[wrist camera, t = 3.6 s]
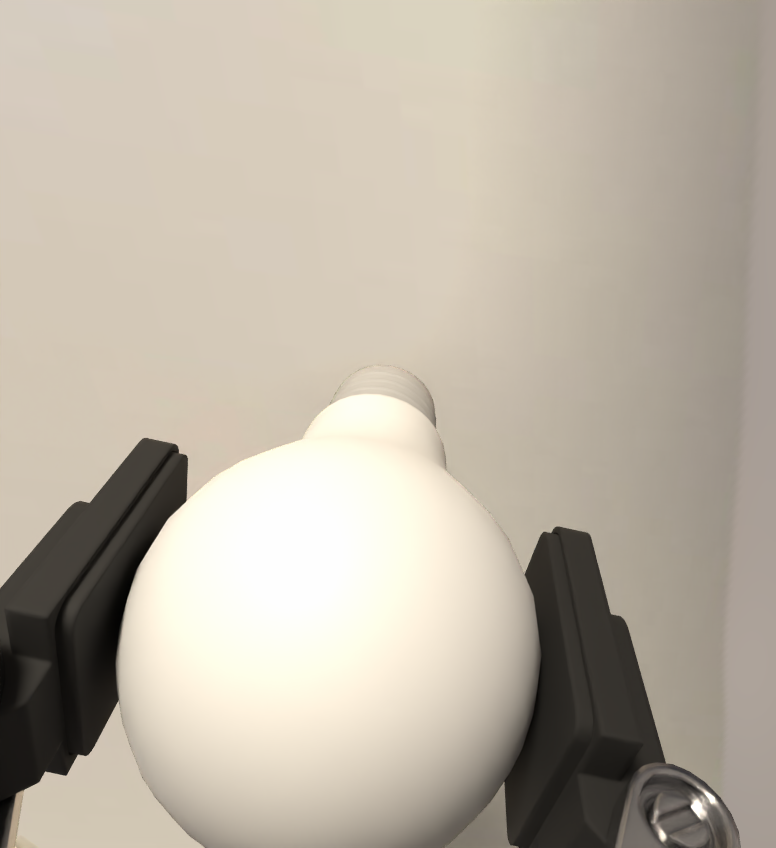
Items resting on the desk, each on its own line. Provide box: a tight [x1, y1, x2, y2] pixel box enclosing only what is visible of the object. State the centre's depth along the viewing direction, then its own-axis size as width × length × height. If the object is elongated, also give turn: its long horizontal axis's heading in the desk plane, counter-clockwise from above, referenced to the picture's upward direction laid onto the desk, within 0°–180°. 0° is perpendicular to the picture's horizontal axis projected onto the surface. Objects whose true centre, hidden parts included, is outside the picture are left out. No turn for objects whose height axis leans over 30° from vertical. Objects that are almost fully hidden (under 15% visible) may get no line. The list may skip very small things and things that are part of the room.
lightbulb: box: [116, 365, 541, 848], centre depth 12 cm, size 6×6×11 cm
